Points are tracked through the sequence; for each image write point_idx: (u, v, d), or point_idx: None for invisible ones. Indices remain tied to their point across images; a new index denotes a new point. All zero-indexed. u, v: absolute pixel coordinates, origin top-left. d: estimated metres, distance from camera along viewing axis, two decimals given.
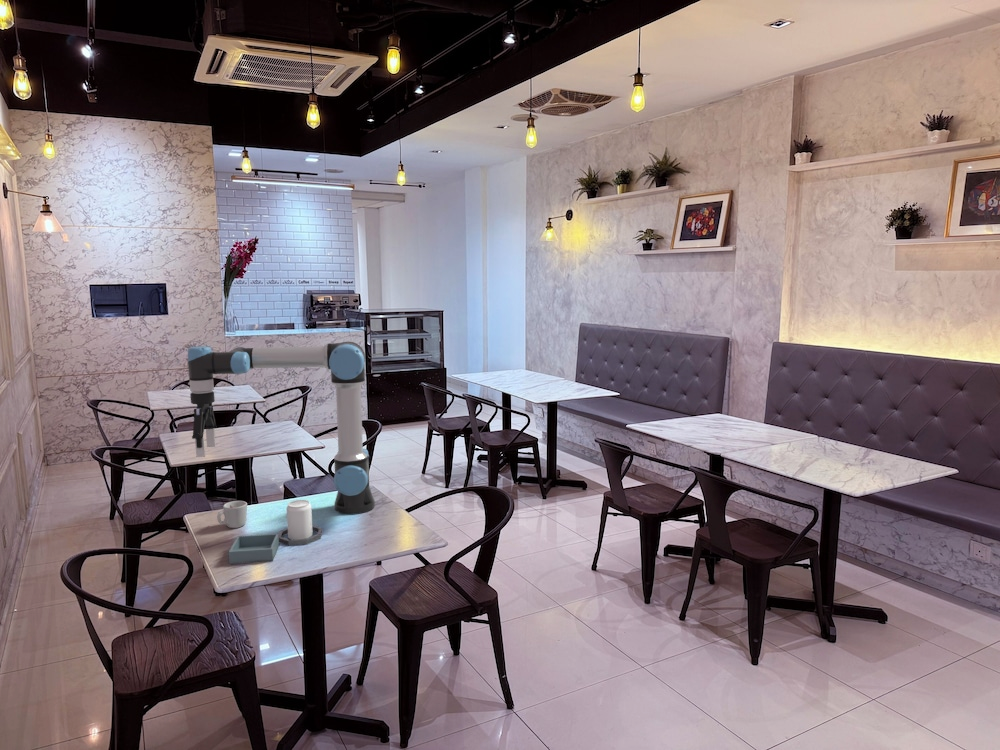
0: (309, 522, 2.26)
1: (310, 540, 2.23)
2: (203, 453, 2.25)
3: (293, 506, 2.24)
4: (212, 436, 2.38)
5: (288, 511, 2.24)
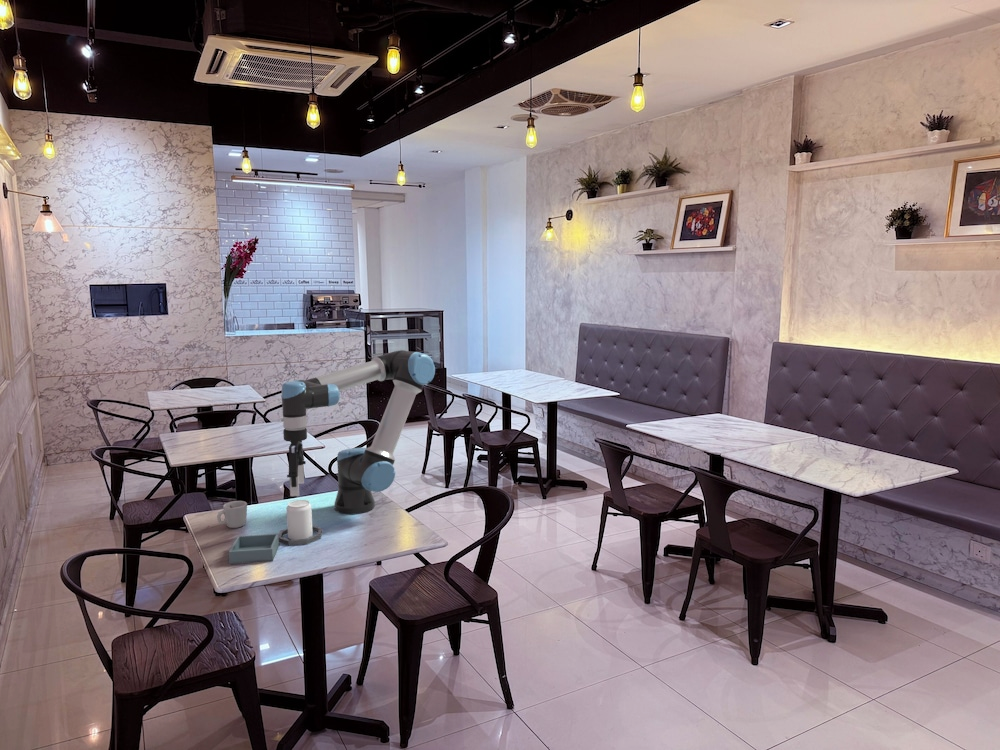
0: (309, 522, 2.26)
1: (310, 540, 2.23)
2: (297, 492, 2.19)
3: (293, 506, 2.24)
4: (301, 472, 2.32)
5: (288, 511, 2.24)
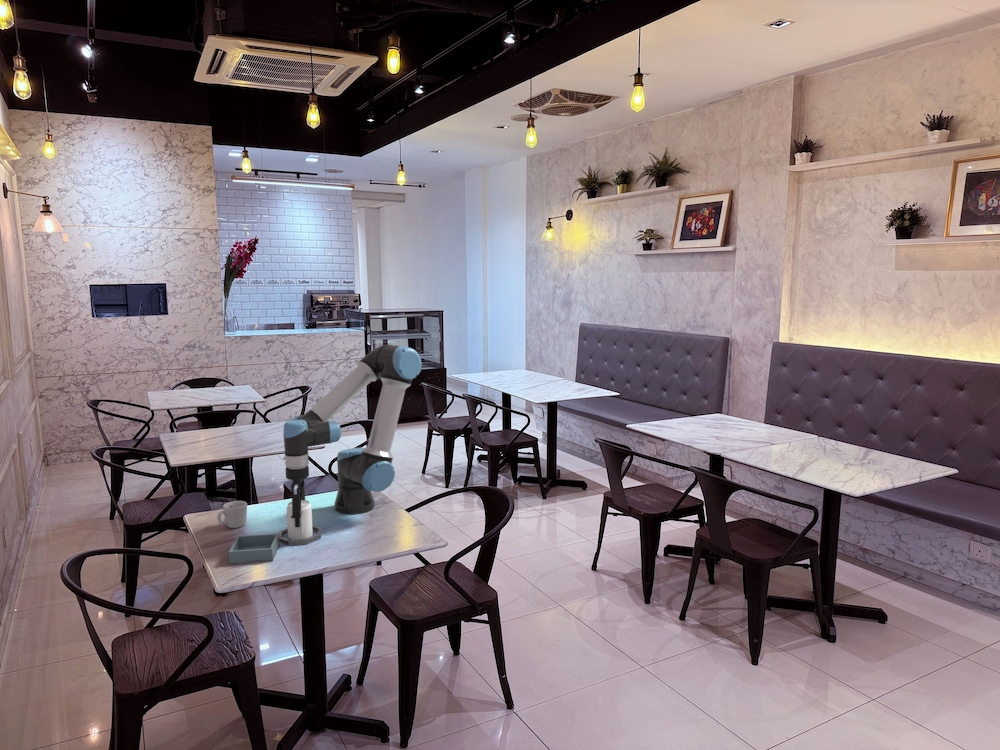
0: (309, 522, 2.26)
1: (310, 540, 2.23)
2: (301, 532, 2.23)
3: None
4: None
5: (288, 511, 2.24)
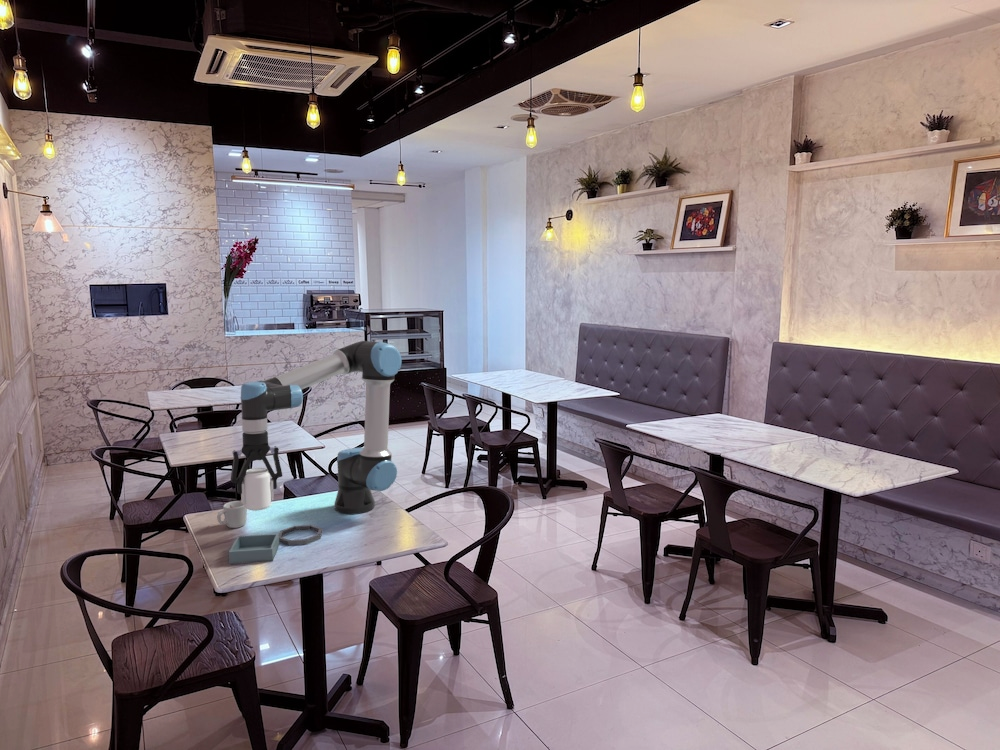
0: (252, 493, 2.09)
1: (310, 540, 2.23)
2: (242, 500, 2.10)
3: (248, 471, 2.12)
4: None
5: None
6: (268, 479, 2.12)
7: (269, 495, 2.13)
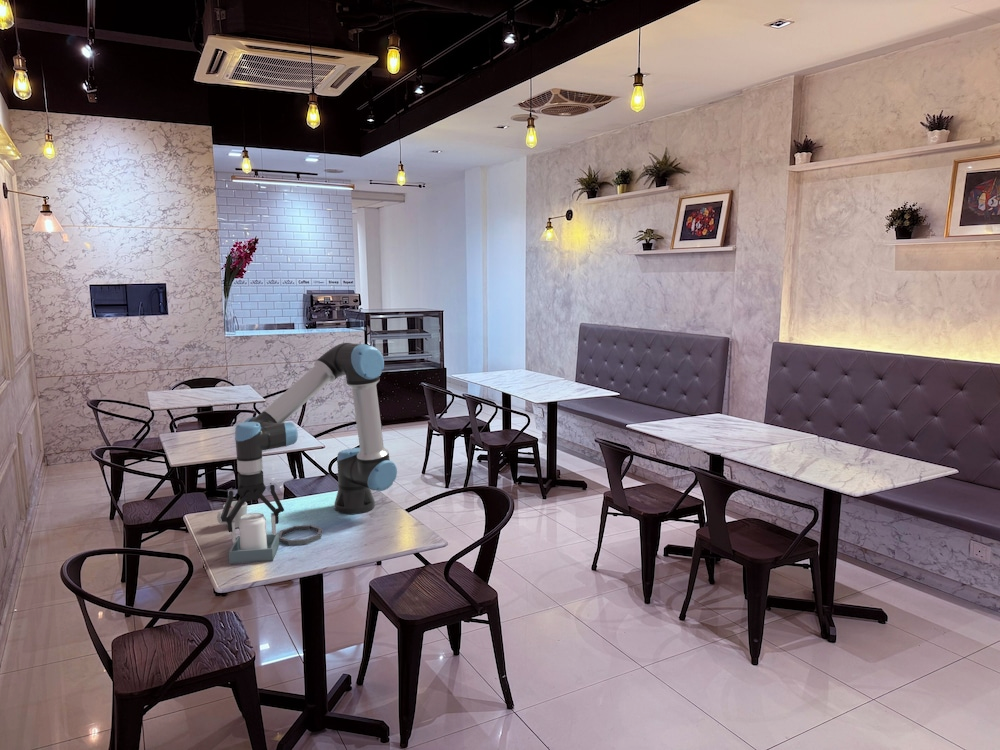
0: (248, 540, 2.09)
1: (310, 540, 2.23)
2: (232, 538, 2.09)
3: (244, 517, 2.12)
4: (272, 523, 2.15)
5: None
6: (264, 525, 2.12)
7: (265, 540, 2.13)
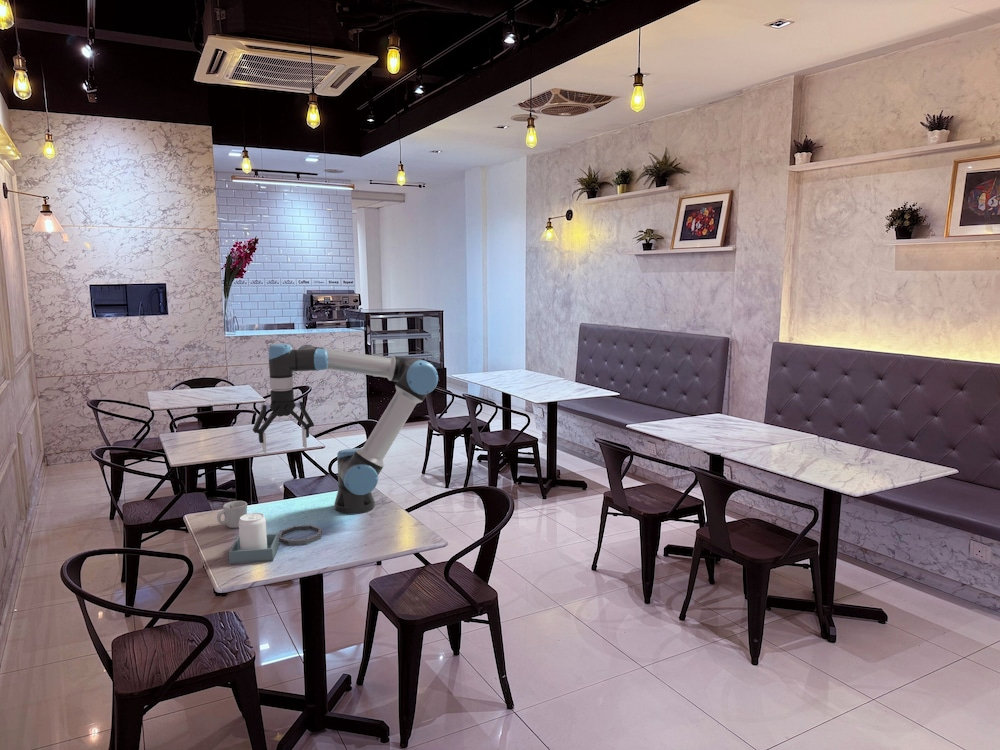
0: (248, 540, 2.09)
1: (310, 540, 2.23)
2: (263, 449, 2.28)
3: (243, 517, 2.12)
4: (303, 436, 2.34)
5: None
6: (263, 525, 2.12)
7: (265, 540, 2.13)
